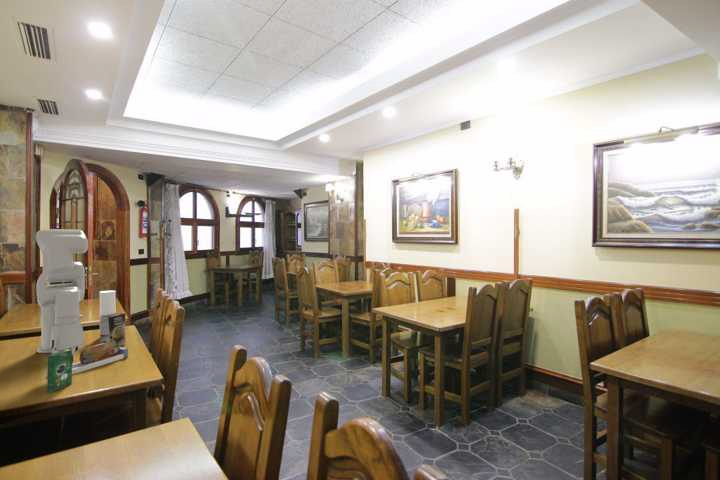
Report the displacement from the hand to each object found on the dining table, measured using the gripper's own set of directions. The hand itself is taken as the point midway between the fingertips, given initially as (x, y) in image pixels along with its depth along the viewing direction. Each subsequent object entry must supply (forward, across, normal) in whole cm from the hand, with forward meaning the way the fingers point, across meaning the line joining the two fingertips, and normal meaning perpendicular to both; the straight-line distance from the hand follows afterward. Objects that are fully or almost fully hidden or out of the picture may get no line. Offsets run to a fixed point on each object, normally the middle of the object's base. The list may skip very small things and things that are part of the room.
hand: (67, 365), depth 147 cm
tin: (+4, -12, 0) cm, 13 cm away
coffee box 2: (+3, -30, -18) cm, 35 cm away
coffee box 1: (+4, +10, +13) cm, 16 cm away
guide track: (+3, -8, 0) cm, 8 cm away
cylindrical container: (+3, -40, -38) cm, 55 cm away
